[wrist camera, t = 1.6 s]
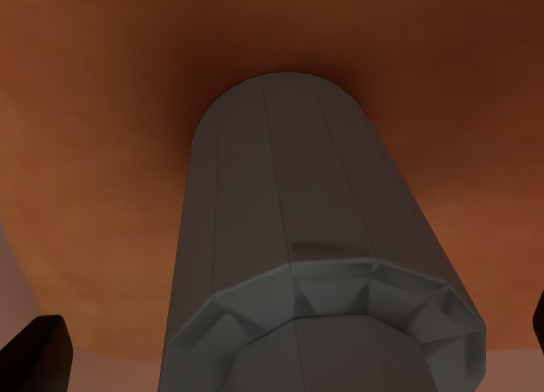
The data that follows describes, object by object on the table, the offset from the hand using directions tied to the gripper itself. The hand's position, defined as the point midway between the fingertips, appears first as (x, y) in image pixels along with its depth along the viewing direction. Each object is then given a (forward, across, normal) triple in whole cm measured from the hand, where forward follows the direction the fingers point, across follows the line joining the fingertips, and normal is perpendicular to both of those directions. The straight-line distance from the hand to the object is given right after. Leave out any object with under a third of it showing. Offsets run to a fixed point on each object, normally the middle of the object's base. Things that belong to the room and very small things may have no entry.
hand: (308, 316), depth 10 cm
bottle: (+6, 0, 0) cm, 6 cm away
